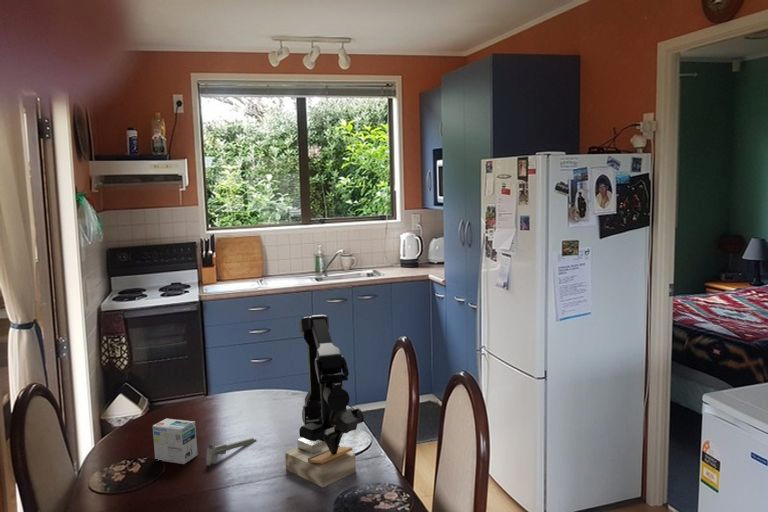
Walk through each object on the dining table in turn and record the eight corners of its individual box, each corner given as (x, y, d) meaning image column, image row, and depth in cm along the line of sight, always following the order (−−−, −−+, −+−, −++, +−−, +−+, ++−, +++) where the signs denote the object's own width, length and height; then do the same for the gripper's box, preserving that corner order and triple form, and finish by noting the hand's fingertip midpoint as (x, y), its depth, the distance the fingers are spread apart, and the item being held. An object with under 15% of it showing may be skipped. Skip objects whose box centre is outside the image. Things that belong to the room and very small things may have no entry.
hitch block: (285, 469, 177) (285, 452, 177) (318, 455, 186) (318, 439, 185) (322, 487, 166) (322, 469, 165) (355, 471, 174) (355, 454, 174)
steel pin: (308, 458, 182) (307, 435, 182) (322, 465, 178) (321, 441, 177) (298, 462, 180) (297, 439, 179) (312, 469, 175) (311, 445, 175)
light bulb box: (198, 455, 188) (196, 420, 187) (184, 465, 182) (182, 429, 180) (168, 451, 192) (166, 417, 190) (153, 460, 185) (151, 425, 184)
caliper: (209, 467, 180) (208, 446, 179) (206, 466, 181) (205, 445, 180) (256, 441, 198) (255, 422, 197) (254, 440, 198) (253, 421, 198)
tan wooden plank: (307, 461, 170) (307, 458, 170) (338, 448, 178) (337, 445, 178) (322, 463, 166) (321, 459, 166) (352, 450, 174) (351, 446, 174)
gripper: (324, 414, 157) (327, 474, 159) (376, 395, 170) (379, 451, 172) (296, 405, 165) (299, 462, 166) (349, 388, 178) (351, 441, 180)
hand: (333, 454), depth 171 cm, fingers closed, pressing on tan wooden plank
